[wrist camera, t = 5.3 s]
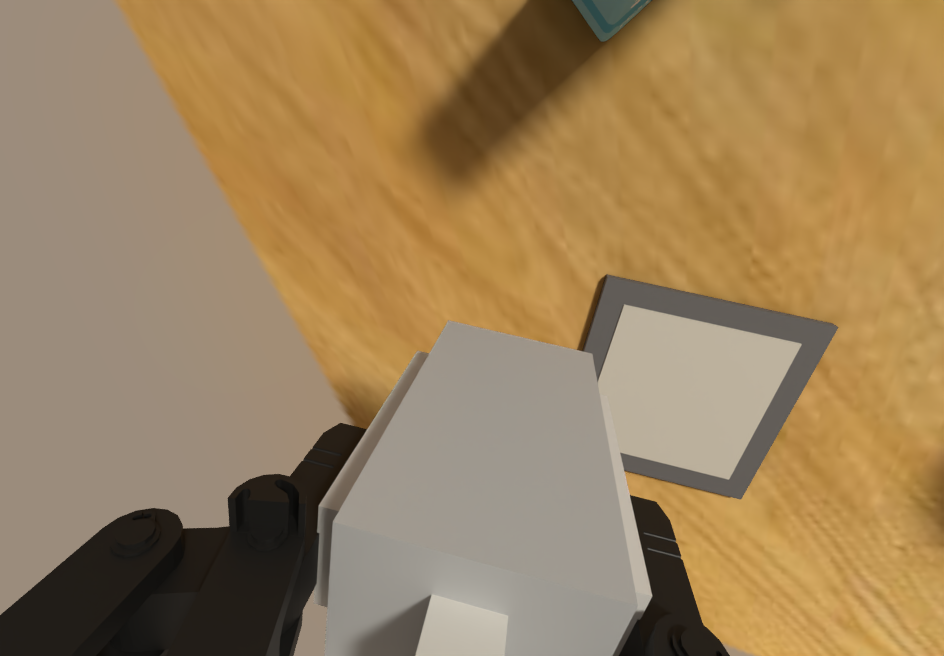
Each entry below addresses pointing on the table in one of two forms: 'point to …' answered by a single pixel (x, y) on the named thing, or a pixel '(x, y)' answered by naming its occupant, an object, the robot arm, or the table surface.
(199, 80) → the table surface
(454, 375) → the usb dongle
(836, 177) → the table surface
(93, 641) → the robot arm
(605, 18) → the data package
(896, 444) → the table surface
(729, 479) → the charcoal picture frame
